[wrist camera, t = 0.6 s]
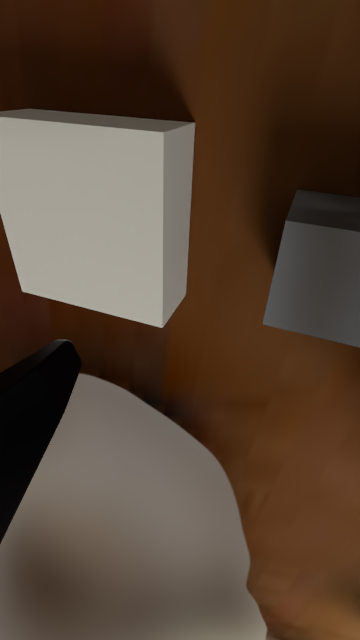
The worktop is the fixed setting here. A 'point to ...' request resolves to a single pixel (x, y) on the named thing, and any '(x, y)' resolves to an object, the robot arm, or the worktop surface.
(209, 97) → the worktop surface
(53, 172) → the cream base block
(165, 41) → the worktop surface
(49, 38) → the worktop surface
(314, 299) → the charcoal cube
